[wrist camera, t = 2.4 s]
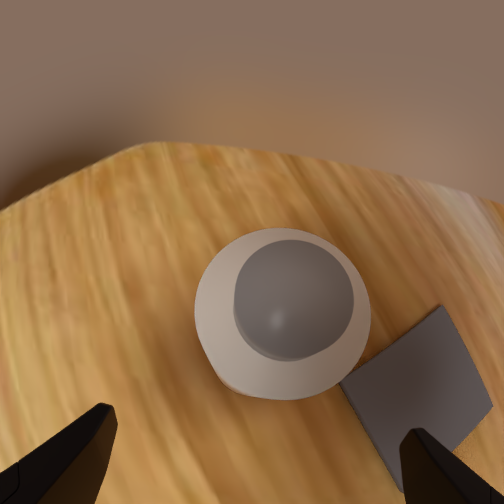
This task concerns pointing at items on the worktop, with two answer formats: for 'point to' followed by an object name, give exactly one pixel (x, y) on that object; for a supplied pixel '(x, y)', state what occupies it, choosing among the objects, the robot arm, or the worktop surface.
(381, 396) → the charcoal mat
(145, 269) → the worktop surface
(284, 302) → the cream bottle
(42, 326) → the worktop surface
